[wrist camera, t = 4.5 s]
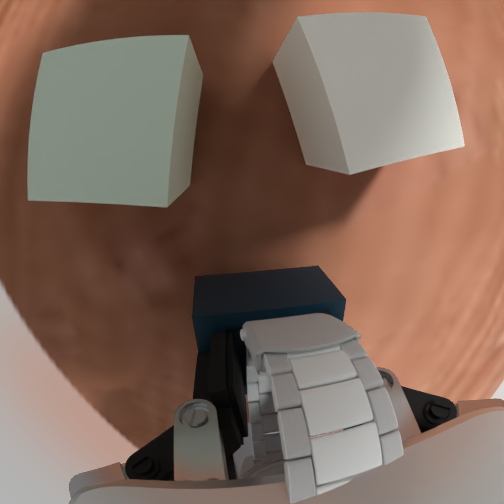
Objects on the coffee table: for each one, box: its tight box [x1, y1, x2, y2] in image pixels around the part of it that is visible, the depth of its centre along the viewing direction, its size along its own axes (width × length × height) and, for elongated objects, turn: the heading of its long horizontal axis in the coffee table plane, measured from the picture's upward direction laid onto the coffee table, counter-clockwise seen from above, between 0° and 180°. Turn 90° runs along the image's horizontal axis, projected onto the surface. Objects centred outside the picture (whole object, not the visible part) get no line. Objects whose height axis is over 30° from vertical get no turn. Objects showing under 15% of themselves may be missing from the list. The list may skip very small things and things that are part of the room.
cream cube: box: [272, 13, 465, 175], centre depth 9 cm, size 5×5×5 cm
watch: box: [192, 266, 404, 503], centre depth 8 cm, size 6×8×11 cm
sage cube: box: [27, 35, 203, 208], centre depth 9 cm, size 5×5×5 cm
